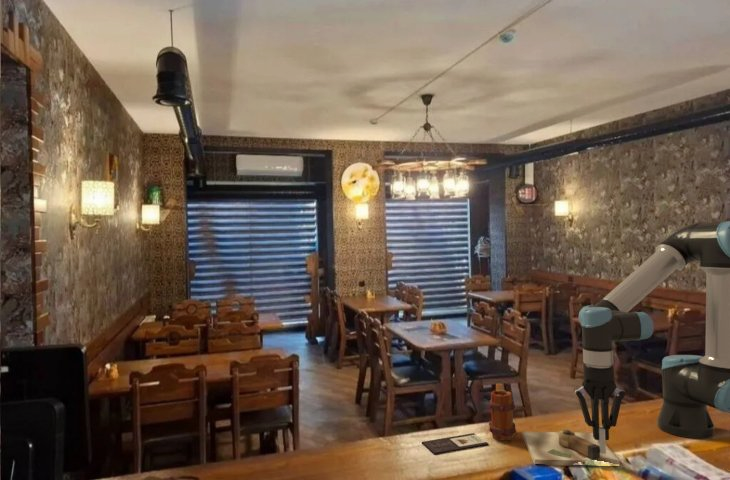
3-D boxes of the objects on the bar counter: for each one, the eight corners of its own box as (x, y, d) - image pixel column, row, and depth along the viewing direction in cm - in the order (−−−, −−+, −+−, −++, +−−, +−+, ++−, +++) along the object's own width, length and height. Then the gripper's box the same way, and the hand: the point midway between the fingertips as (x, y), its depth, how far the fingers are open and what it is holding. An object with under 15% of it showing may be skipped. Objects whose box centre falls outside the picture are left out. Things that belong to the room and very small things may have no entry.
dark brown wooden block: (555, 442, 149) (555, 429, 149) (567, 440, 151) (567, 427, 151) (590, 460, 137) (589, 446, 137) (602, 457, 138) (602, 443, 138)
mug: (517, 444, 153) (516, 394, 153) (489, 443, 155) (488, 394, 155) (513, 426, 167) (512, 381, 167) (488, 425, 169) (486, 380, 169)
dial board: (596, 437, 156) (596, 432, 156) (619, 466, 136) (619, 460, 136) (522, 436, 159) (522, 431, 159) (534, 464, 139) (534, 458, 139)
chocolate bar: (421, 441, 157) (473, 433, 162) (421, 444, 157) (473, 436, 162) (434, 453, 148) (488, 443, 153) (434, 456, 148) (488, 446, 153)
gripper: (618, 361, 142) (621, 446, 142) (569, 361, 143) (572, 445, 143) (628, 368, 134) (632, 457, 134) (577, 368, 136) (580, 456, 136)
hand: (601, 451), depth 139 cm, fingers closed
